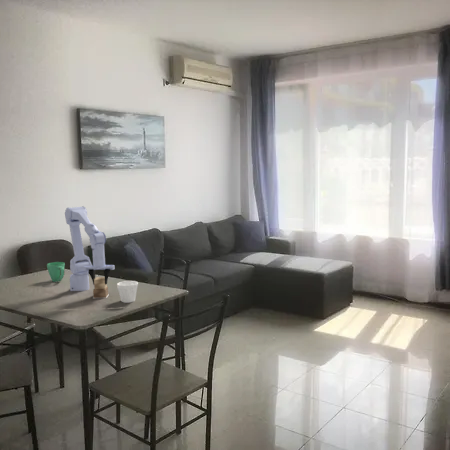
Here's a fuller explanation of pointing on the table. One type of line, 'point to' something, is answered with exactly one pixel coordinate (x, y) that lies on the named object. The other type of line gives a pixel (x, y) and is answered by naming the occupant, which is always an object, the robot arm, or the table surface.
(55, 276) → the mug
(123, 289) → the cup
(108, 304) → the table surface
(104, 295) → the walnut block
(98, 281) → the oak cube
